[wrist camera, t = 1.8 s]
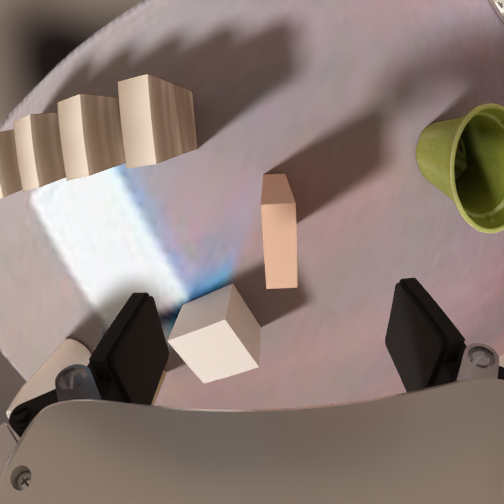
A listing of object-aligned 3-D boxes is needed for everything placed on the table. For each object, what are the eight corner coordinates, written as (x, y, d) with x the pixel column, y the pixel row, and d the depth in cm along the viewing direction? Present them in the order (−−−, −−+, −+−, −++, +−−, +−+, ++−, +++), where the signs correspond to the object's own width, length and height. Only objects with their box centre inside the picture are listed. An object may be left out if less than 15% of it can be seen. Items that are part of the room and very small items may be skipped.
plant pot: (381, 127, 22) (431, 131, 14) (455, 91, 20) (514, 88, 12) (420, 217, 25) (468, 255, 17) (485, 177, 23) (541, 200, 15)
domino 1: (66, 122, 23) (-7, 133, 14) (72, 170, 25) (3, 197, 16) (53, 127, 23) (-19, 139, 14) (59, 174, 25) (-9, 201, 16)
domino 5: (284, 173, 24) (295, 202, 15) (287, 229, 26) (297, 287, 17) (263, 174, 25) (260, 204, 15) (267, 230, 27) (266, 288, 17)
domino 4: (192, 91, 22) (147, 74, 13) (197, 148, 24) (156, 163, 15) (172, 95, 22) (117, 81, 13) (177, 151, 24) (126, 168, 15)
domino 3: (144, 100, 22) (80, 93, 13) (149, 155, 24) (89, 175, 15) (126, 105, 22) (57, 102, 13) (132, 158, 24) (66, 180, 15)
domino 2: (101, 111, 23) (29, 114, 13) (108, 162, 25) (39, 187, 15) (86, 116, 23) (13, 122, 14) (92, 166, 25) (23, 191, 16)
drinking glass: (102, 374, 36) (60, 456, 23) (64, 360, 36) (18, 433, 22) (95, 340, 34) (41, 428, 20) (55, 326, 33) (-3, 402, 20)
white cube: (182, 304, 30) (166, 340, 25) (232, 282, 29) (224, 319, 24) (213, 344, 32) (203, 383, 27) (261, 327, 31) (259, 367, 25)
